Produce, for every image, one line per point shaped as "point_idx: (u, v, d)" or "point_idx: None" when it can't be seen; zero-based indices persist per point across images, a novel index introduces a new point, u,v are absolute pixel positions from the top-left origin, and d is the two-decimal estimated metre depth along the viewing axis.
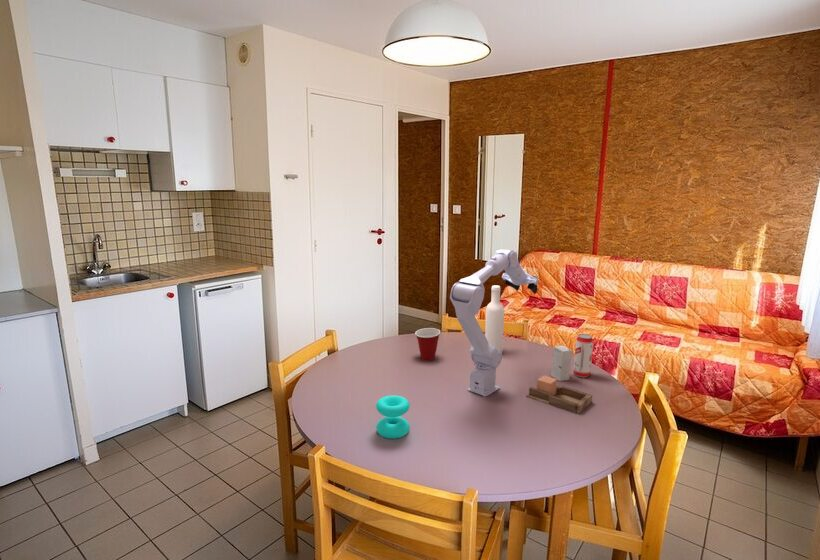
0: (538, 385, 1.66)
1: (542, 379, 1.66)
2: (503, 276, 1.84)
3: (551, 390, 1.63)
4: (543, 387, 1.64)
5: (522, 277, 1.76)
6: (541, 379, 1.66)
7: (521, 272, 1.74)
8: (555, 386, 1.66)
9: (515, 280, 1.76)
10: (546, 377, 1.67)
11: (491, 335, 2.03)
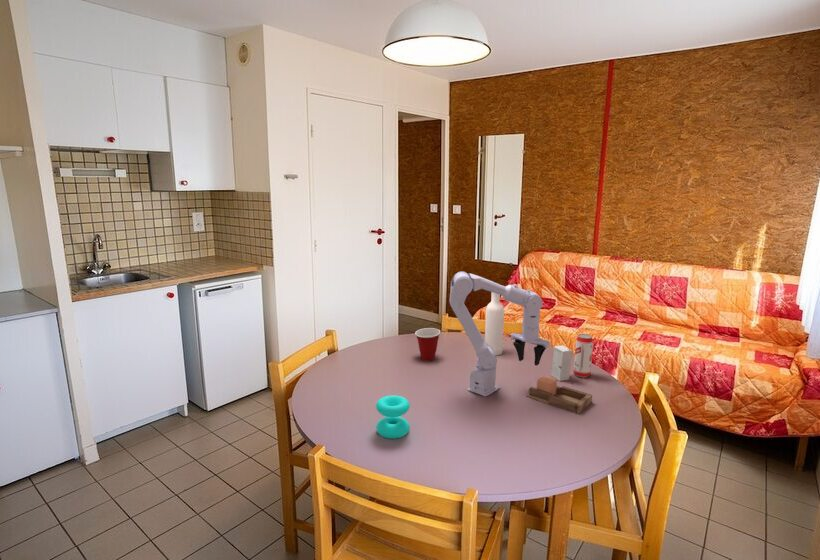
0: (538, 385, 1.66)
1: (542, 379, 1.66)
2: (512, 335, 1.72)
3: (551, 390, 1.63)
4: (543, 387, 1.64)
5: (536, 334, 1.65)
6: (541, 379, 1.66)
7: (537, 327, 1.65)
8: (555, 386, 1.66)
9: (528, 333, 1.65)
10: (546, 377, 1.67)
11: (491, 335, 2.03)
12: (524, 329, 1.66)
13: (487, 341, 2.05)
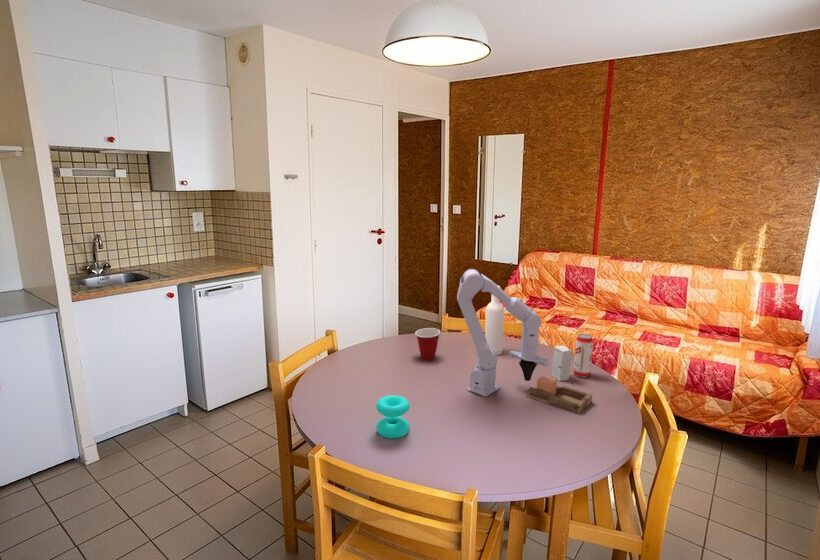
0: (538, 385, 1.66)
1: (542, 379, 1.66)
2: None
3: (551, 390, 1.63)
4: (543, 387, 1.64)
5: (534, 352, 1.66)
6: (541, 379, 1.66)
7: (536, 346, 1.66)
8: (555, 386, 1.66)
9: (527, 351, 1.66)
10: (546, 377, 1.67)
11: (491, 335, 2.03)
12: (523, 347, 1.67)
13: (487, 341, 2.05)
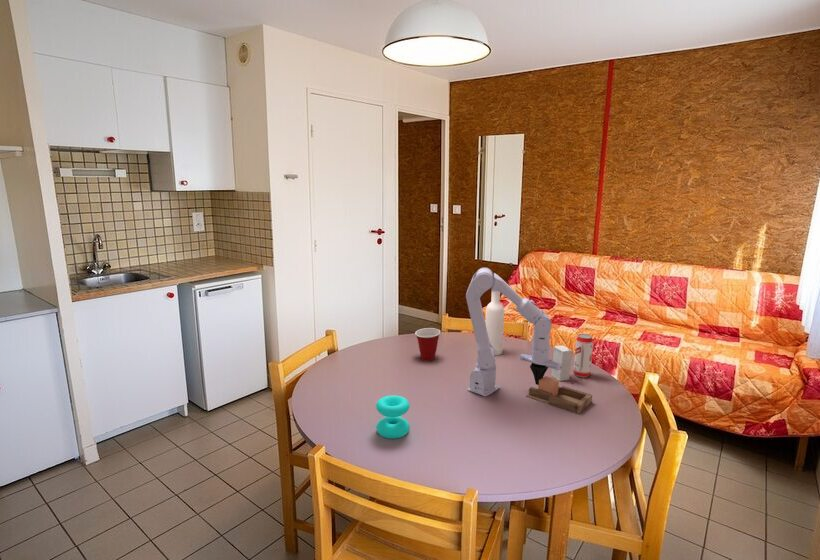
0: (540, 386, 1.65)
1: (543, 380, 1.65)
2: None
3: (553, 391, 1.63)
4: (545, 387, 1.64)
5: (546, 356, 1.64)
6: (543, 380, 1.65)
7: (548, 349, 1.64)
8: (557, 386, 1.65)
9: (538, 355, 1.63)
10: (548, 377, 1.67)
11: (491, 335, 2.03)
12: (534, 351, 1.64)
13: None
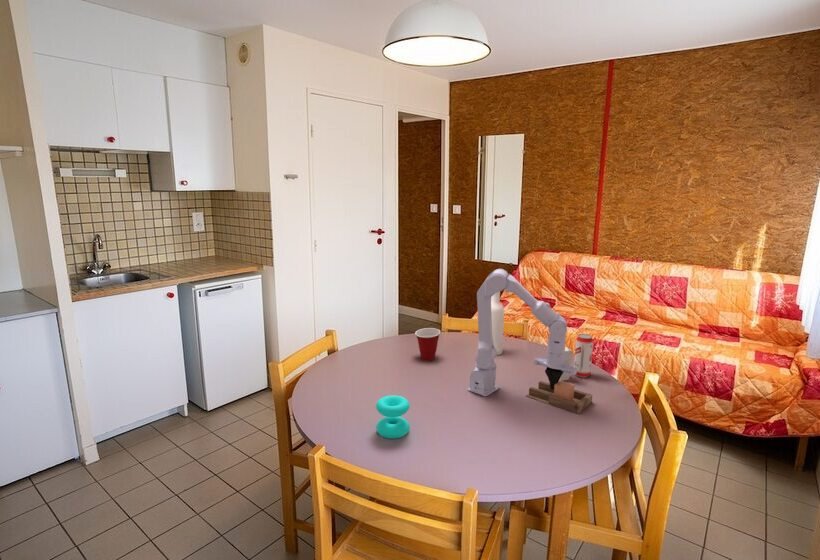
0: (555, 390, 1.61)
1: (559, 384, 1.61)
2: (536, 360, 1.67)
3: (569, 396, 1.59)
4: (560, 392, 1.60)
5: (561, 360, 1.60)
6: (558, 384, 1.61)
7: (563, 353, 1.60)
8: (573, 391, 1.62)
9: (553, 359, 1.60)
10: (563, 382, 1.63)
11: None
12: (549, 355, 1.61)
13: None
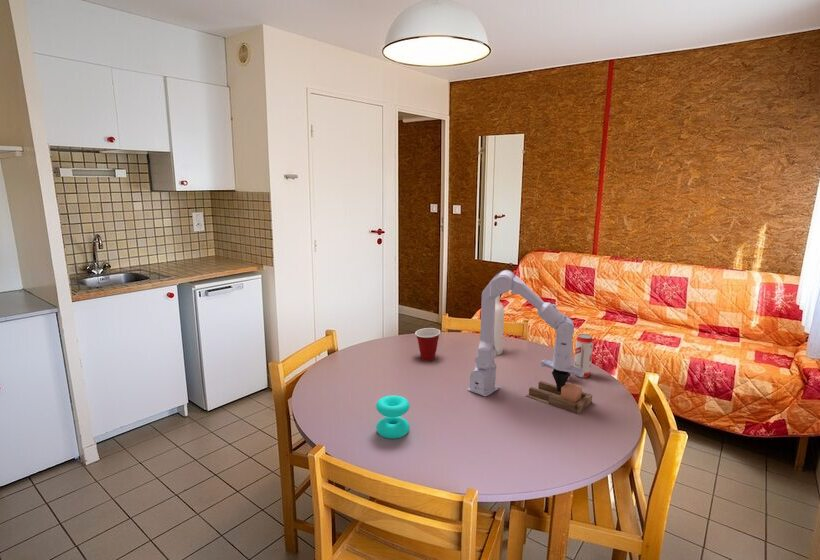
0: (562, 393, 1.60)
1: (566, 386, 1.60)
2: (543, 361, 1.65)
3: (576, 398, 1.58)
4: (568, 395, 1.58)
5: (569, 362, 1.58)
6: (565, 386, 1.60)
7: (570, 355, 1.58)
8: (580, 393, 1.60)
9: (560, 361, 1.58)
10: (570, 384, 1.62)
11: None
12: (556, 357, 1.59)
13: None
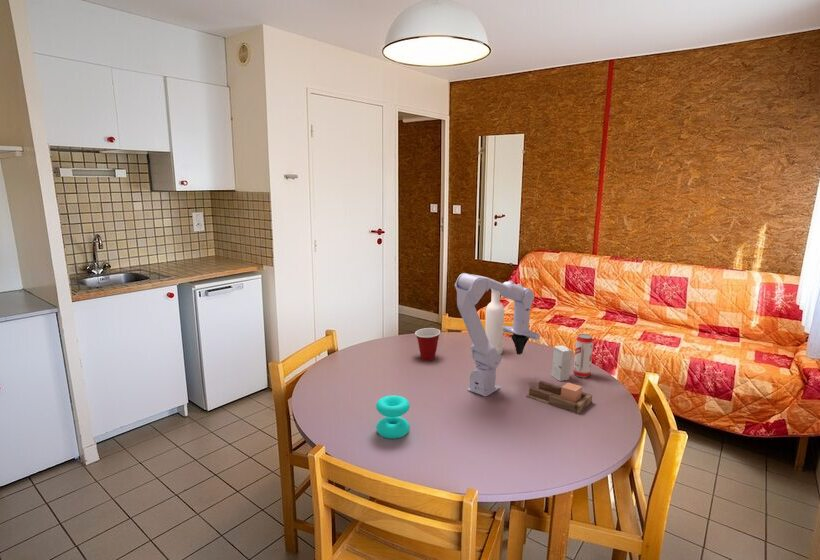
0: (562, 393, 1.60)
1: (566, 386, 1.60)
2: None
3: (576, 398, 1.58)
4: (568, 395, 1.58)
5: (526, 326, 1.74)
6: (565, 386, 1.60)
7: (528, 320, 1.74)
8: (580, 393, 1.60)
9: (518, 326, 1.73)
10: (570, 384, 1.62)
11: (491, 335, 2.03)
12: (515, 322, 1.74)
13: None
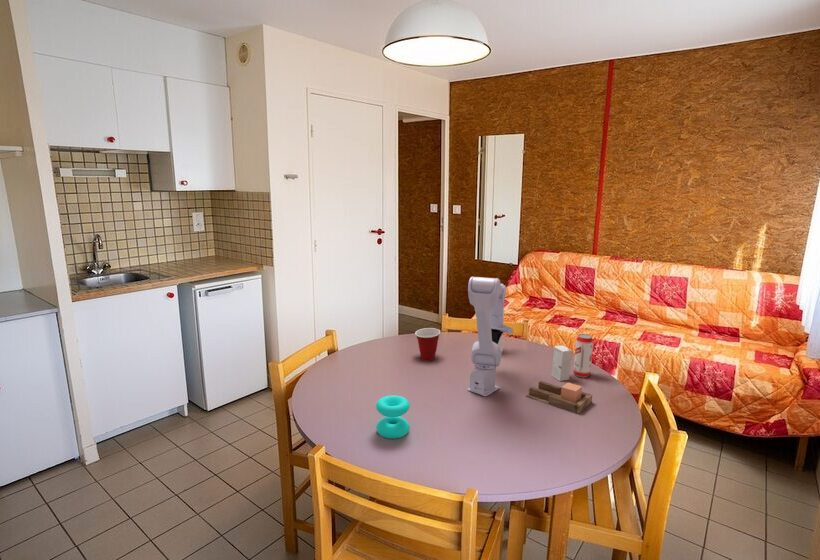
0: (562, 393, 1.60)
1: (566, 386, 1.60)
2: None
3: (576, 398, 1.58)
4: (568, 395, 1.58)
5: (500, 321, 1.80)
6: (565, 386, 1.60)
7: (501, 315, 1.80)
8: (580, 393, 1.60)
9: (493, 320, 1.80)
10: (570, 384, 1.62)
11: None
12: (489, 316, 1.81)
13: None
